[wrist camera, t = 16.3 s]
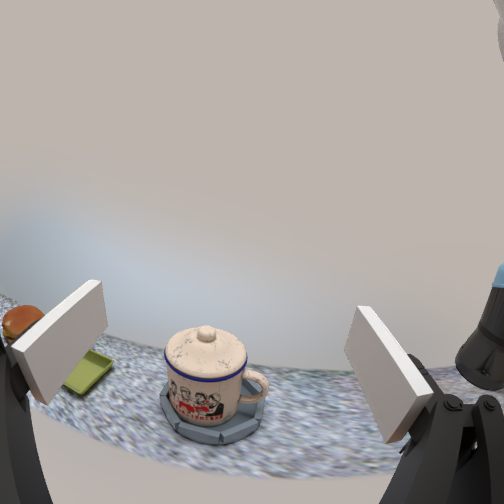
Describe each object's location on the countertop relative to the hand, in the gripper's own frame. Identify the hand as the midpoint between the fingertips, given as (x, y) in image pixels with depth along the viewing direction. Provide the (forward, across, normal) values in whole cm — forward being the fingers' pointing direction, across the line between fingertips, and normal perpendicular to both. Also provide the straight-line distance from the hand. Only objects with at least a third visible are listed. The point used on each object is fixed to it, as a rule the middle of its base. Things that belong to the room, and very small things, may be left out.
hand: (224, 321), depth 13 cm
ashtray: (+12, -2, -21) cm, 25 cm away
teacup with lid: (+12, -1, -21) cm, 24 cm away
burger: (+17, -37, -21) cm, 46 cm away
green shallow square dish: (+13, -22, -22) cm, 33 cm away
